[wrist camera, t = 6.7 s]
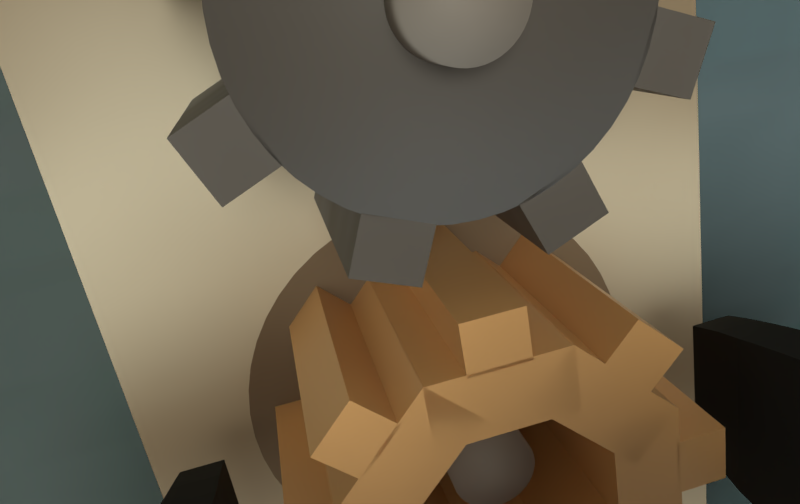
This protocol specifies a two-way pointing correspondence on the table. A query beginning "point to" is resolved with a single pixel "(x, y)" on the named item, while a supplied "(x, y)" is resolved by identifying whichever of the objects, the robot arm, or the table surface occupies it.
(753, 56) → the table surface
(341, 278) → the gear board
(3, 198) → the table surface
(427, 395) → the orange gear
